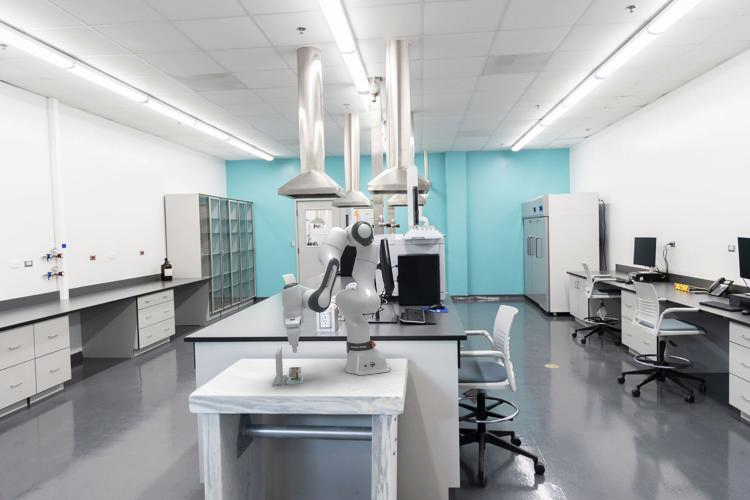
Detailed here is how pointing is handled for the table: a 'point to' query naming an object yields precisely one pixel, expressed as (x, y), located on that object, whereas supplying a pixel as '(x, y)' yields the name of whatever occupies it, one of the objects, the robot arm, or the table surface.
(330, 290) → the robot arm
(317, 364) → the table surface
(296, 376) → the letter cube
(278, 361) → the screen
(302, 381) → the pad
